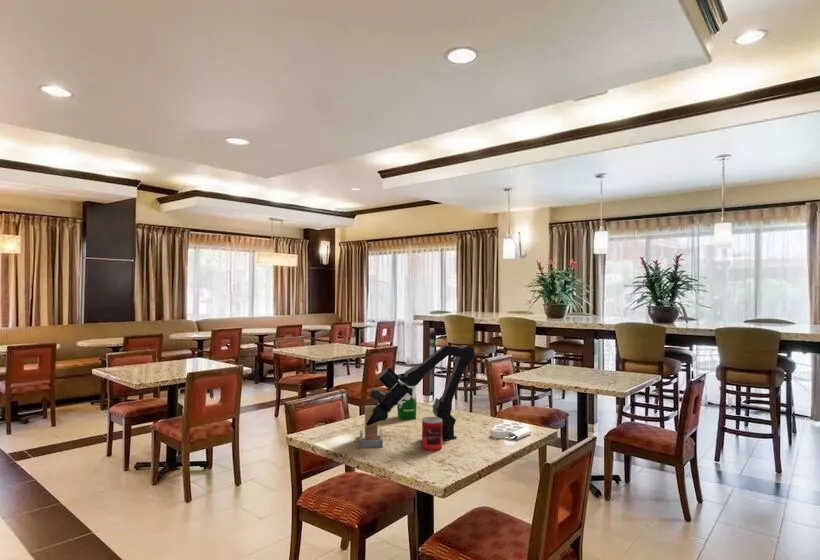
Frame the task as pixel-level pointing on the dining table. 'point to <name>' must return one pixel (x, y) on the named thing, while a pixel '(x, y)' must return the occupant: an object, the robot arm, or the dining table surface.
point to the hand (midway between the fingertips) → (367, 422)
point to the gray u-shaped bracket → (370, 441)
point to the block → (371, 429)
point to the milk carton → (407, 405)
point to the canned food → (432, 433)
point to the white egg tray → (510, 430)
